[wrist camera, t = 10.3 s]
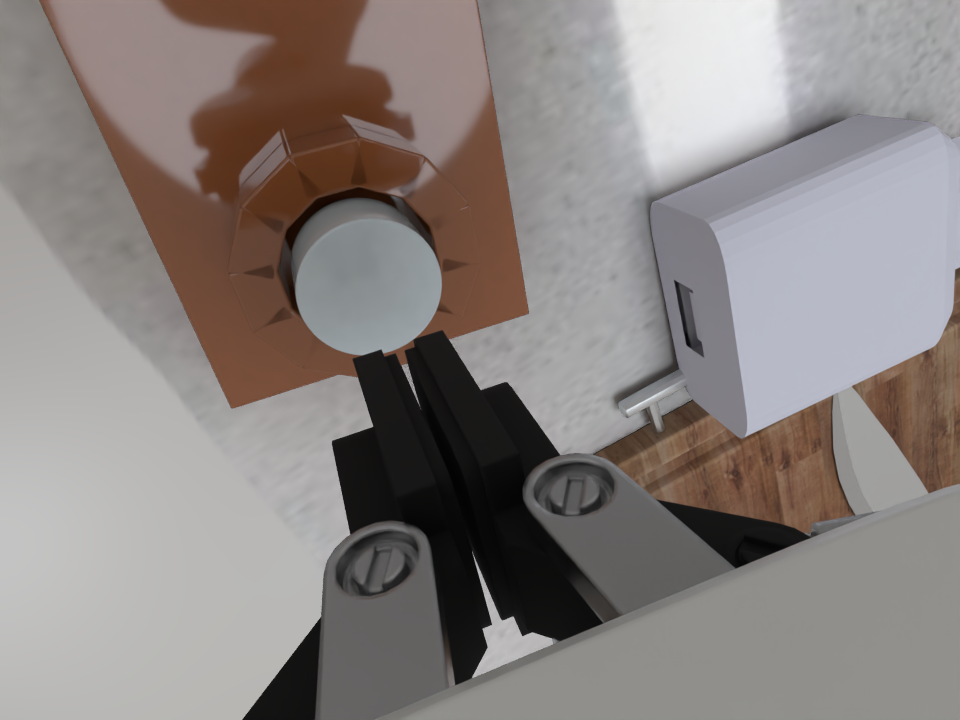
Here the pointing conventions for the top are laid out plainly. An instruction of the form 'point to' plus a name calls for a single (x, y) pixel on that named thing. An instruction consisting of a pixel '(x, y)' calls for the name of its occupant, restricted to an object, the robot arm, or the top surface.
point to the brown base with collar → (297, 156)
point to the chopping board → (808, 445)
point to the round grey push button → (364, 277)
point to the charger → (810, 266)
